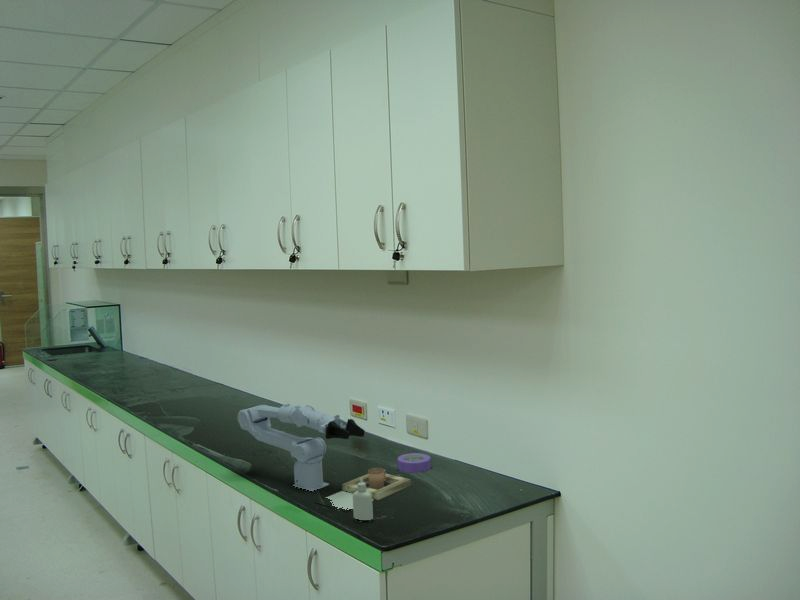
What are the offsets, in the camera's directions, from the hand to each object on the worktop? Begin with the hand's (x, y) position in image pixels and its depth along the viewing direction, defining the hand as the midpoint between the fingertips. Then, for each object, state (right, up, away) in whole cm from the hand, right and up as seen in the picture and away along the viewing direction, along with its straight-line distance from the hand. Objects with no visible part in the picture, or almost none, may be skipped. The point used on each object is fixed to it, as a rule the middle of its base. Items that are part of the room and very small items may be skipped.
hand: (356, 434), depth 220 cm
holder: (+6, -19, +9) cm, 22 cm away
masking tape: (+19, -18, +29) cm, 39 cm away
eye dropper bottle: (+3, -21, -17) cm, 28 cm away
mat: (-4, -20, -2) cm, 21 cm away
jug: (+6, -19, +9) cm, 22 cm away
